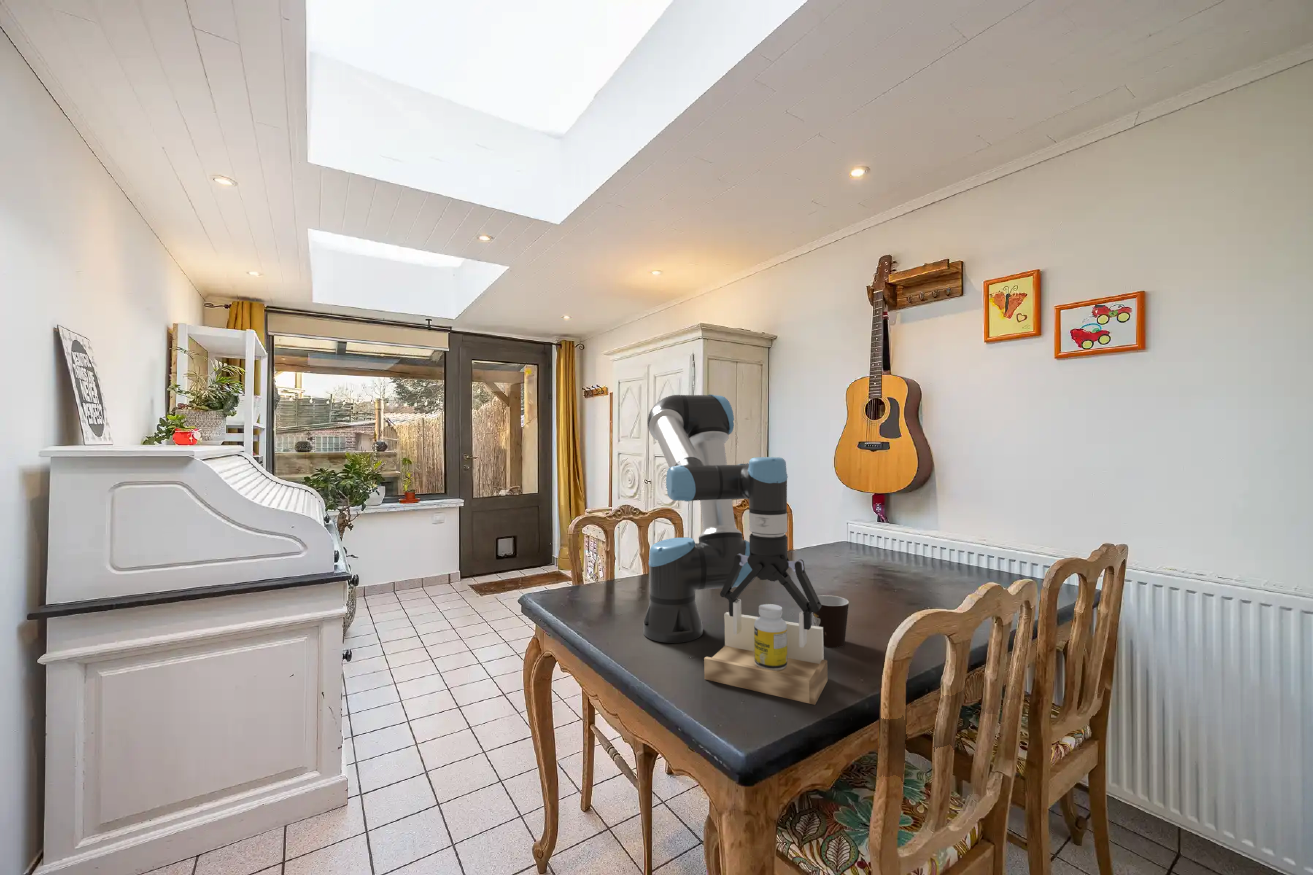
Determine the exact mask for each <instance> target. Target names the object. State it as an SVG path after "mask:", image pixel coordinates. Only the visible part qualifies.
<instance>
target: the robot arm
mask: <svg viewBox="0 0 1313 875" xmlns="http://www.w3.org/2000/svg"><path fill="white" fill-rule="evenodd" d="M734 421H735V416H734V411H733V408H732V405H731V403H730V401H729V400H728V398H726V397H725V396H724V395H717V394H707V395H706V394H703V395H702V394H700V395H699V394H693V395H692V394H686V395H685V394H673V395H669V396H666V397H664V398H662V399H660V400H659V401H657V402H656V403H655V404H654V405H653V406H652V408H651V409H650V411H649V413H648V416H647V428H648V431H649V433H650V436H652V438H653V439H655V440H656V441H657V443H658V445H659V447H660V449H661V452H662V454H663V456H664V459H665V461H666V464H667V465H668V469H667V471H666V476H665V477H666V478H665V484H666V485H665V486H666V487H665V488H666V491H667V496H668V498H669V499H670V500H671V501H677V502H678V501H681V502H691V501H699V502H700V504H699V505H700V511H701V520H702V521H701V522H702V529H703V530H702V531H701V533H700V535H698V542H695V539H693V538H692V537H673V538H672V537H671V538H666V539H663V540H660V541H658V542H655V543H654V544H652V546H650V549H649V553H648V554H649V556H648V568H649V569H648V570H649V573H648V574H649V603H648V608H647V610H646V614H645V615H644V616H645V617H644V620H643V624H642V628H643V630H642V631H643V635H644V637H645V638H647V639H650V640H652V641H655V642H659V643H664V644H665V643H666V644H667V643H668V644H678V643H688V642H692V641H694V640H697V639H699V638H701V637H702V635H703V632H704V630H703V629H704V627H703V621H702V618H701V614H700V612H699V609H698V605H697V602H696V591H699V590H701V591H702V590H711V589H714V590H715V589H721V590H720V592H719V595H720V597H721V598H725V599H727V600H728V612H729V615H730V616H732V617H733V634H736V635H737V634H738V633H739V632H740V631H741V614H742V599H740V598H739V596H740V595H741V594H742V593H743V592H744V591H745V590H746V589H747V587H748V586H749V585H750V584H751V583H752V582H753V581H754V580H755V579H756V578H757V579H759V580H760V581H765V580H766V581H770V582H776V581H778V582H779V584H780V585H782V586H783V587H784V588H785V590H786V591H787V592H788V593H789V595H790V597H791V598H792V599H793V601H795V603H796V604H797V606H798V607H799V608H800V609H801V610H800V612H799V613H798V623H799V647H804V646H805V644H806V643H807V630H809V629H810V628H811V626H813V623H812V621H813V620H812V618H813V612H818V611H819V609H820V608H821V603H820V601H819V599H818V597H817V596H818V595H817V593H816V591H815V589H814V587H813V585H812V583H811V580H810V578H809V576H808V574H807V572H806V569H805V568H806V567H805V561H804V560H803V559H798V560H789V556H788V536H787V535H786V534H787V532H788V479H789V478H788V477H789V476H788V473H787V461H786V460H785V458H783V457H780V456H779V457H776V456H775V457H774V456H762V457H761V456H757V457H752V458H750V459H749V461H748V462H747V463H738V464H728V462H727V453H726V447H725V444H726V442H727V441H728V440H729V439H730V436H729V435H731V434H732V433H733V432H734V431H733V430H734V427H735V424H734ZM744 499H745V500H748V506H749V508H748V519H749V520H748V521H749V523H748V524H749V528H748V529H749V530H748V531H750V532H751V533H750V535H749V539H748V540H749V541H748V540H746V539H744V538H743V532H741V530H739V529H738V528H737V526H736V522H735V521H736V520H735V515H734V507H733V500H744ZM789 568H791V570H792V572H794V573H795V575H796V576H795V577H796V578H797V580H798V582H799V585H800V586H801V588H802V590H803V593H804V594H803V593H802V591H801V589H799V587H797V585H796V584H795V582H794V581H793V580H792V577H791V575H789V574H790V573H788V569H789ZM733 588H735V589H733ZM732 589H733V591H732ZM804 595H805V596H804Z"/></svg>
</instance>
